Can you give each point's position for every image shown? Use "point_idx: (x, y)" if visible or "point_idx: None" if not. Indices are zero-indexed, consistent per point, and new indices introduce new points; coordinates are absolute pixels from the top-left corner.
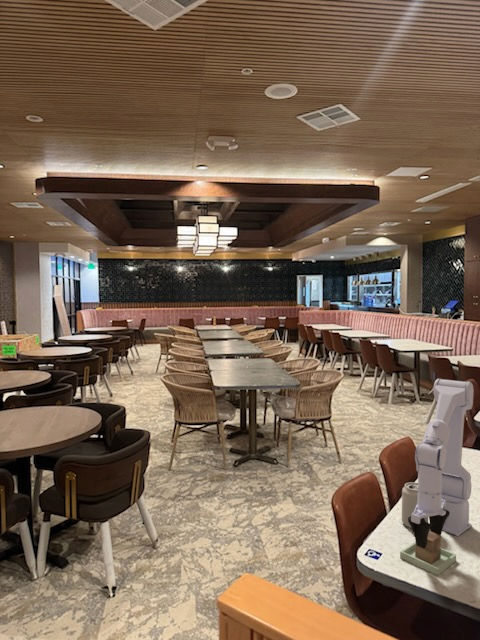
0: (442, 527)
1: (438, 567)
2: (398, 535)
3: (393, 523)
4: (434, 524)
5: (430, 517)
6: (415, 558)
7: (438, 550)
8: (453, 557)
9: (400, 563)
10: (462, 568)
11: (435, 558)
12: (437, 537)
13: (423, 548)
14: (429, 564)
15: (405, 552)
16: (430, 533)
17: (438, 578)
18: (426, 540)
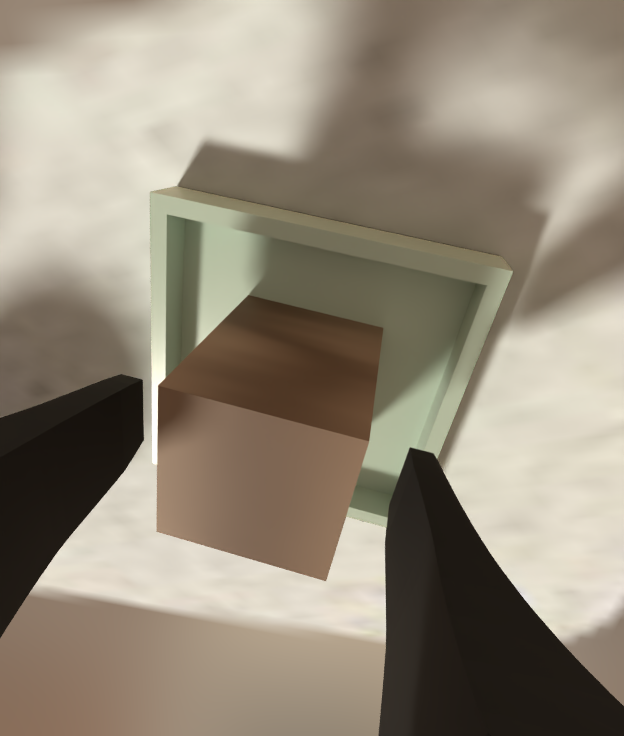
0: (29, 419)
1: (483, 270)
2: (168, 540)
3: (77, 572)
4: (57, 504)
5: (12, 601)
6: (441, 444)
7: (262, 333)
8: (205, 202)
9: (478, 489)
10: (254, 103)
11: (324, 324)
12: (233, 409)
13: (435, 458)
14: (472, 343)
15: (364, 498)
16: (202, 479)
17: (546, 237)
18: (438, 504)
